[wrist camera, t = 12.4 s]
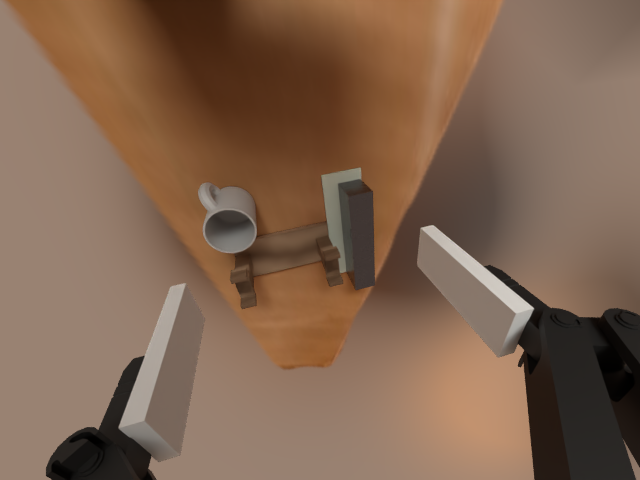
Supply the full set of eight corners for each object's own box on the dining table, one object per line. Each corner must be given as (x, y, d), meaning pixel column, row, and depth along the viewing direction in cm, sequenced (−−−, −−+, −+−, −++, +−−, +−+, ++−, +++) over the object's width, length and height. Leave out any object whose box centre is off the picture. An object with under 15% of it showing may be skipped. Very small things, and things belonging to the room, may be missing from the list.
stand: (231, 242, 48) (227, 276, 40) (325, 221, 50) (340, 249, 42) (243, 275, 53) (242, 312, 45) (330, 255, 55) (344, 286, 47)
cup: (231, 232, 47) (228, 261, 40) (187, 188, 42) (173, 213, 34) (264, 209, 46) (267, 235, 39) (223, 162, 41) (217, 181, 34)
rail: (346, 271, 57) (355, 290, 52) (337, 183, 47) (348, 196, 42) (364, 267, 58) (374, 285, 53) (359, 178, 47) (372, 191, 42)
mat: (320, 175, 46) (321, 175, 45) (360, 167, 46) (360, 168, 46) (333, 273, 57) (333, 274, 57) (364, 266, 58) (364, 267, 58)
